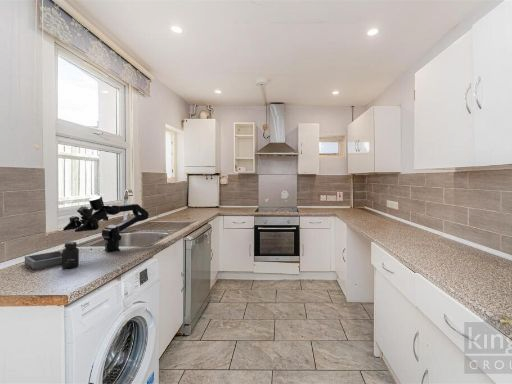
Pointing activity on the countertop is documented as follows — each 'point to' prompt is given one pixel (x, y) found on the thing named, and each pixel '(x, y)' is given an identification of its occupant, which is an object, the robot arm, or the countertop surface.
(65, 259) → the supplement bottle
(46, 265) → the housing
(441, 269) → the countertop surface
